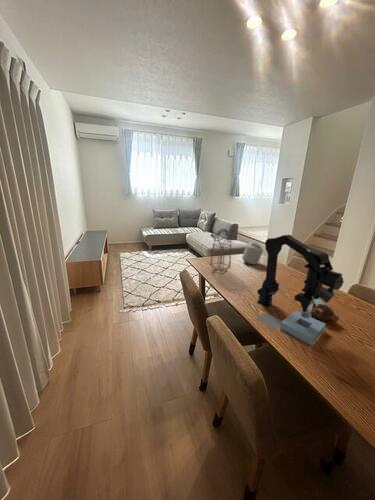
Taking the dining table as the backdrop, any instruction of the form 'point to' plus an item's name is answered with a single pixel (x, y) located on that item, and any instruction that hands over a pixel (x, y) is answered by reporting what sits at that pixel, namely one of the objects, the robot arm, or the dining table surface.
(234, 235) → the geometric lantern
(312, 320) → the blue peg hole block
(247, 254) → the jar
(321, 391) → the dining table surface
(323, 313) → the decorative turtle
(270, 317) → the rubber mat
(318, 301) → the smartphone
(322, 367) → the dining table surface
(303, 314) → the steel pin
